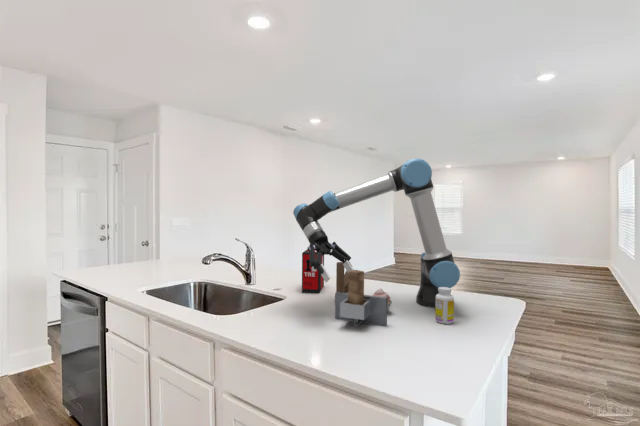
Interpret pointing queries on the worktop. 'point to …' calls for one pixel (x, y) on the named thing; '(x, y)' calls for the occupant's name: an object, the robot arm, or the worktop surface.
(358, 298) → the post
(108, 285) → the worktop surface
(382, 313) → the cup bracket
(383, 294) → the cupcake
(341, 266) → the brown wooden piece
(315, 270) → the cleaning product box
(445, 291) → the supplement bottle
